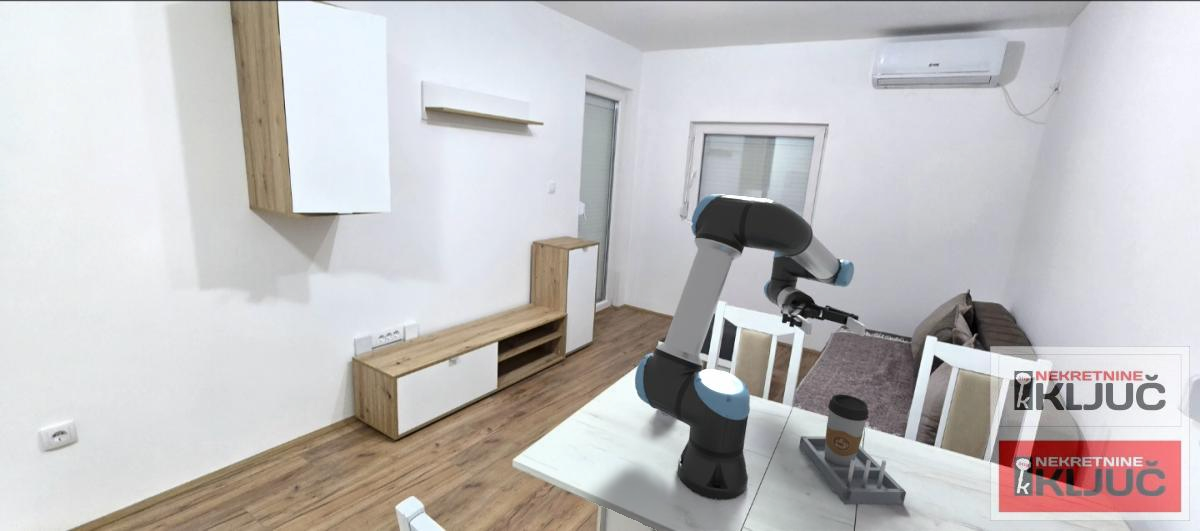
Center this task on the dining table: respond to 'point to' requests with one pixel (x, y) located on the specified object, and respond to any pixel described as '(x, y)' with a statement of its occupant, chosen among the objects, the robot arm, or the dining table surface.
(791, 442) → the dining table surface
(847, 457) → the coffee cup
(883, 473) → the dish rack
